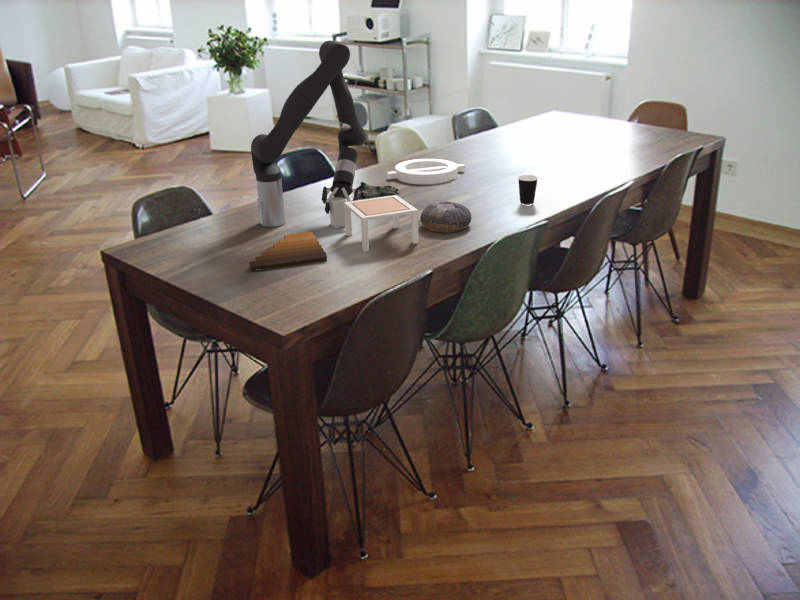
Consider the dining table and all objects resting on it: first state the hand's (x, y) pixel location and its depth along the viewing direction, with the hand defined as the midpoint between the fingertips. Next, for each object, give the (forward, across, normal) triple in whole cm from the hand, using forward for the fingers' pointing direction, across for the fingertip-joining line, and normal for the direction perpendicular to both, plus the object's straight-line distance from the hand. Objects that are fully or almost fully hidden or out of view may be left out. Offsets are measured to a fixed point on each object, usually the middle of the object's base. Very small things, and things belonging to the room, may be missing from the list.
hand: (337, 213), depth 286 cm
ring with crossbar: (-49, +19, +56) cm, 77 cm away
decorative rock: (-26, +5, +34) cm, 43 cm away
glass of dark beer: (-22, +67, +30) cm, 76 cm away
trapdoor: (+3, +20, -12) cm, 23 cm away
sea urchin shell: (0, +40, +8) cm, 40 cm away
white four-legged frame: (+11, +19, -4) cm, 23 cm away
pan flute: (+26, -10, -18) cm, 33 cm away
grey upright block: (+3, 0, +5) cm, 5 cm away
